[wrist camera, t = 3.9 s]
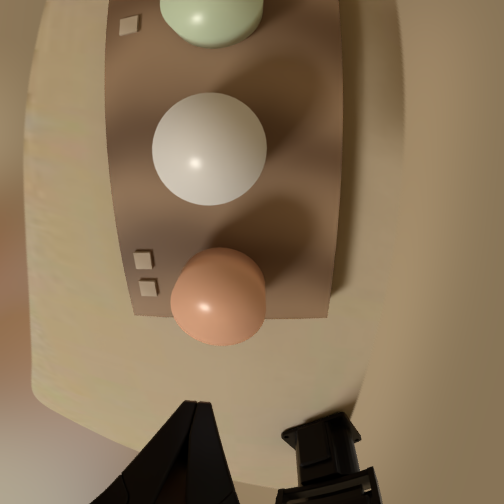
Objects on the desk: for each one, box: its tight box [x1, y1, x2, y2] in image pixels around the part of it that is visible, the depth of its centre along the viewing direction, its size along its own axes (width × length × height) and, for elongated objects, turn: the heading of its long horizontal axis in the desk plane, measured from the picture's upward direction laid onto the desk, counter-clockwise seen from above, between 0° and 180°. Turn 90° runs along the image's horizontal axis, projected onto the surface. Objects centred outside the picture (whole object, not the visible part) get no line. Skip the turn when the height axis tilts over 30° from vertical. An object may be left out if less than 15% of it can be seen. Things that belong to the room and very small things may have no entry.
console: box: [105, 0, 343, 319], centre depth 15 cm, size 20×12×2 cm, turn 1°
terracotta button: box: [170, 247, 266, 346], centre depth 15 cm, size 4×4×2 cm
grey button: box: [152, 93, 267, 206], centre depth 12 cm, size 4×4×2 cm
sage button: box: [160, 0, 263, 49], centre depth 10 cm, size 4×4×2 cm
